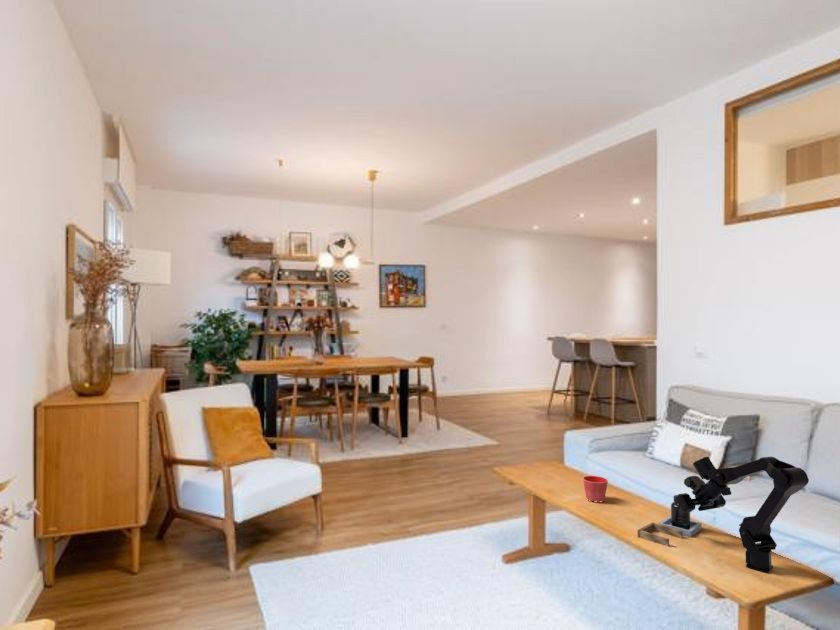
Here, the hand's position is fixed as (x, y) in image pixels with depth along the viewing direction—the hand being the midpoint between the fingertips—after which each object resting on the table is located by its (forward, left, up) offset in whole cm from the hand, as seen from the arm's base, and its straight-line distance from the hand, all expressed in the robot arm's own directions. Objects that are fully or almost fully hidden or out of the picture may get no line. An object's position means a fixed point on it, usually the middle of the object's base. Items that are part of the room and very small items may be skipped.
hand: (689, 511), depth 207 cm
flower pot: (+44, -10, -9) cm, 46 cm away
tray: (+4, -2, -8) cm, 10 cm away
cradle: (+6, +12, -8) cm, 16 cm away
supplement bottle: (+4, -2, -8) cm, 9 cm away
